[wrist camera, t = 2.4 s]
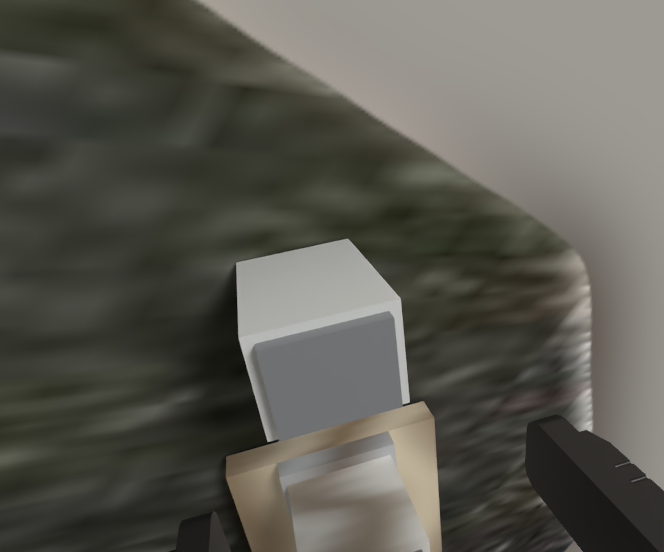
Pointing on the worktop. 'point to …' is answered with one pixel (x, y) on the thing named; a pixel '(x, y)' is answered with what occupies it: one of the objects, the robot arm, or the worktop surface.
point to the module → (320, 339)
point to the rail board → (270, 496)
